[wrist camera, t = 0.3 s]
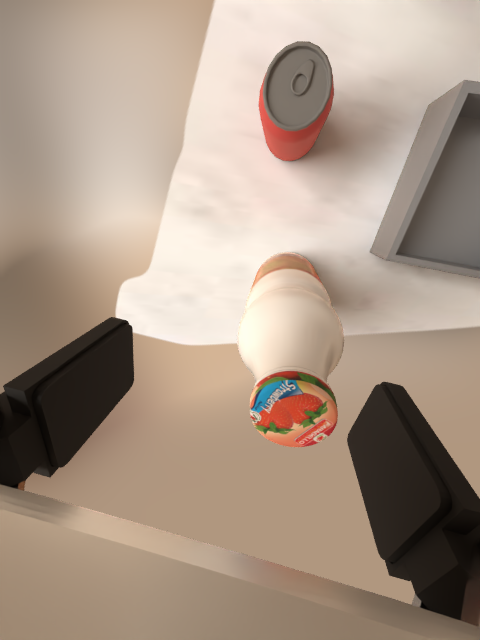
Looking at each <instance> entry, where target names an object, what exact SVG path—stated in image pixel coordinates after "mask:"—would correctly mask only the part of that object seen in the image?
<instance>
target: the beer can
mask: <svg viewBox="0 0 480 640" xmlns="http://www.w3.org/2000/svg"><path fill="white" fill-rule="evenodd" d="M333 96H334V87H333V75H332V68H331V65H330V63H329V60H328V57H327V55H326V54H325V53H324V52H323V51H322V49H321V48H320V47H319V46H317V45H315V44H313V43H311V42H295V43H293V44H290V45H288V46H286V47H285V48H284V49H282V50H281V51H280V52H279V53H278V54H277V55H276V56H275V58H274V59H273V61H272V62H271V64H270V65H269V67H268V70H267V72H266V75H265V77H264V80H263V83H262V86H261V89H260V97H259V110H260V116H261V121H262V126H263V130H264V135H265V139H266V143H267V145H268V147H269V149H270V151H271V152H272V153H273V154H274V155H275V156H276V157H277V158H279V159H281V160H284V161H293V160H296V159H299V158H301V157H302V156H304V155H305V154H307V152H308V151H309V150H310V149H311V148H312V146H313V145H314V143H315V141H316V139H317V137H318V135H319V133H320V131H321V129H322V127H323V125H324V123H325V121H326V119H327V116H328V114H329V112H330V110H331V106H332V101H333Z"/></svg>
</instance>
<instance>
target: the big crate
mask: <svg viewBox="0 0 480 640" xmlns="http://www.w3.org/2000/svg"><path fill="white" fill-rule="evenodd" d="M370 252H371V253H373V254H375V255H377V256H379V257H381V258H383V259H385V260H388V261H394V262H399V263H404V264H409V265H414V266H419V267H424V268H429V269H435V270H440V271H445V272H450V273H455V274H460V275H465V276H470V277H475V278H480V82H475V81H468V80H464V81H463V82H461V83H460V84H458V85H457V86H455V87H454V88H453V89H451V90H450V91H448V92H447V93H445V94H444V95H443V96H441V97H440V98H438V99H437V100H435V101H434V102H433V103H431V104H430V105H428V108H427V110H426V113H425V115H424V118H423V120H422V123H421V125H420V128H419V130H418V133H417V135H416V138H415V140H414V143H413V145H412V148H411V150H410V153H409V155H408V158H407V160H406V163H405V165H404V168H403V170H402V173H401V175H400V178H399V180H398V183H397V185H396V188H395V190H394V193H393V195H392V198H391V200H390V203H389V205H388V208H387V210H386V213H385V215H384V218H383V220H382V223H381V225H380V228H379V230H378V233H377V235H376V238H375V240H374V243H373V245H372V248H371V250H370Z"/></svg>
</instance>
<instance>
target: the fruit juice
mask: <svg viewBox="0 0 480 640" xmlns="http://www.w3.org/2000/svg"><path fill="white" fill-rule="evenodd" d="M237 342H238V349H239V353H240V356H241V358H242V360H243V362H244V364H245V366H246V367H247V368H248V370H249V371H250V372H251V373H252V374H253V376H254V379H255V382H256V384H255V385H254V388H253V391H252V394H251V399H250V415H251V419H252V422H253V424H254V426H255V428H256V429H257V430H258V431H259V432H260V433H261V434H262V435H263V436H264V437H265V438H267V439H268V440H270V441H272V442H275V443H277V444H280V445H284V446H289V447H305V446H310V445H313V444H316V443H319V442H321V441H322V440H324V439H326V438H327V437H328V436H329V435H330V434H331V433H332V431H333V430H334V428H335V426H336V423H337V416H338V413H337V404H336V399H335V396H334V394H333V392H332V390H331V388H330V386H329V384H328V383H327V376H328V375H329V374H330V373H331V372H332V371H333V370H334V369H335V367H336V366H337V364H338V362H339V360H340V358H341V355H342V352H343V347H344V334H343V329H342V325H341V323H340V320H339V317H338V315H337V314H336V312H335V311H334V309H333V308H332V305H331V301H330V298H329V295H328V293H327V291H326V289H325V288H324V286H323V284H322V282H321V280H320V279H319V277H318V275H317V273H316V271H315V269H314V268H313V266H312V264H311V263H310V262H309V261H308V260H307V259H306V258H304V257H303V256H301V255H299V254H296V253H291V252H283V253H278V254H275V255H273V256H271V257H270V258H268V259H267V260H266V261H265V262H264V263H263V264H262V265H261V266H260V268H259V270H258V272H257V275H256V277H255V280H254V283H253V285H252V288H251V291H250V293H249V295H248V298H247V301H246V306H245V313H244V315H243V316H242V319H241V321H240V325H239V329H238V336H237Z"/></svg>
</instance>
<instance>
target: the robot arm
mask: <svg viewBox="0 0 480 640" xmlns="http://www.w3.org/2000/svg"><path fill="white" fill-rule="evenodd" d="M133 365H134V364H133V333H132V326H131V325H129V323H128V321H126V320H122V319H118V318H113V317H111V318H109V319H107V320H105V321H104V322H102V323H101V324H99V325H98V326H96V327H95V328H93V329H91V330H90V331H88V332H87V333H85V334H84V335H82V336H81V337H79V338H77V339H76V340H75V341H73V342H71V343H70V344H68V345H66V346H65V347H63V348H62V349H60V350H58V351H57V352H56V353H54V354H52V355H51V356H49V357H48V358H46V359H44V360H43V361H41V362H40V363H38V364H37V365H35V366H34V367H32V368H31V369H29V370H27V371H26V372H24V373H22V374H21V375H19V376H18V377H16V378H15V379H13V380H12V381H10V382H9V383H7V384H5V385H4V386H3V387H4V390H5V392H3V393H2V394H0V640H480V499H479V497H478V496H477V494H476V493H475V491H474V490H473V489H472V487H471V485H470V484H469V483H468V481H467V480H466V478H465V477H464V475H463V474H462V472H461V471H460V469H459V468H458V467H457V465H456V464H455V462H454V461H453V459H452V458H451V456H450V455H449V453H448V452H447V450H446V449H445V448H444V446H443V444H442V443H441V441H440V440H439V439H438V437H437V436H436V434H435V433H434V431H433V430H432V428H431V427H430V425H429V424H428V422H427V421H426V419H425V418H424V417H423V415H422V414H421V412H420V411H419V409H418V408H417V406H416V405H415V403H414V402H413V400H412V399H411V397H410V396H409V395H408V393H407V392H406V390H405V389H404V387H403V386H400V385H396V384H392V383H388V382H382V383H381V384H380V385H379V384H378V385H376V386H375V387H374V389H373V391H372V393H371V394H370V396H369V398H368V400H367V401H366V403H365V405H364V407H363V409H362V410H361V412H360V414H359V416H358V418H357V419H356V421H355V423H354V425H353V426H352V428H351V430H350V432H349V434H348V438H347V442H348V446H349V450H350V453H351V457H352V461H353V464H354V468H355V471H356V475H357V478H358V482H359V485H360V489H361V493H362V496H363V500H364V503H365V507H366V511H367V514H368V518H369V521H370V525H371V528H372V532H373V535H374V539H375V543H376V546H377V549H378V553H379V555H380V557H381V558H382V559H383V560H385V562H386V566H387V569H388V572H389V575H390V576H393V577H397V578H400V579H404V580H407V581H410V580H411V582H412V585H413V588H414V591H415V595H414V599H413V602H412V605H410V604H407V603H404V602H401V601H398V600H395V599H392V598H388V597H385V596H382V595H378V594H375V593H372V592H368V591H365V590H362V589H358V588H355V587H352V586H348V585H345V584H342V583H338V582H335V581H332V580H328V579H325V578H321V577H318V576H315V575H312V574H309V573H305V572H302V571H299V570H295V569H292V568H289V567H285V566H282V565H279V564H275V563H272V562H269V561H265V560H262V559H258V558H255V557H251V556H248V555H245V554H241V553H238V552H235V551H231V550H228V549H224V548H221V547H218V546H214V545H211V544H208V543H204V542H201V541H197V540H194V539H191V538H187V537H184V536H180V535H177V534H174V533H170V532H167V531H163V530H160V529H157V528H153V527H150V526H146V525H143V524H139V523H136V522H132V521H129V520H125V519H122V518H118V517H115V516H111V515H108V514H105V513H101V512H98V511H94V510H91V509H87V508H84V507H80V506H77V505H73V504H70V503H66V502H63V501H59V500H56V499H53V498H49V497H45V496H41V495H38V494H34V493H30V492H27V491H24V488H25V481H26V479H27V478H28V477H29V476H30V475H31V474H32V473H33V472H34V473H36V474H40V475H43V476H47V477H51V476H52V475H53V474H54V473H55V471H56V470H57V469H58V468H59V467H63V466H65V465H66V464H67V463H68V462H69V461H70V460H71V458H72V457H73V456H74V455H75V454H76V453H77V451H78V450H79V449H80V448H81V447H82V445H83V444H84V443H85V442H86V441H87V439H88V438H89V437H90V436H91V435H92V433H93V432H94V431H95V430H96V429H97V427H98V426H99V425H100V424H101V423H102V421H103V420H104V419H105V418H106V417H107V416H108V414H109V413H110V412H111V411H112V410H113V408H114V407H115V406H116V405H117V404H118V402H119V401H120V400H121V399H122V398H123V396H124V395H125V394H126V393H127V392H128V391H129V389H130V388H131V387H132V385H133V381H134V366H133Z"/></svg>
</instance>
